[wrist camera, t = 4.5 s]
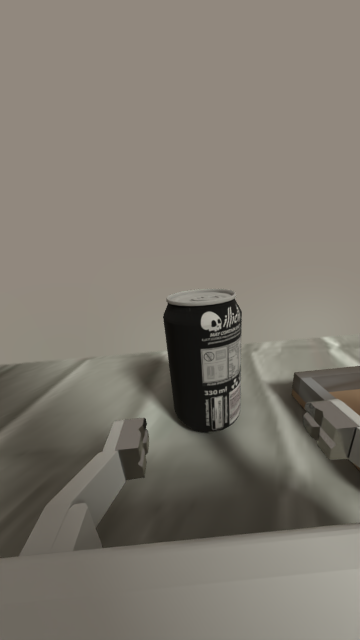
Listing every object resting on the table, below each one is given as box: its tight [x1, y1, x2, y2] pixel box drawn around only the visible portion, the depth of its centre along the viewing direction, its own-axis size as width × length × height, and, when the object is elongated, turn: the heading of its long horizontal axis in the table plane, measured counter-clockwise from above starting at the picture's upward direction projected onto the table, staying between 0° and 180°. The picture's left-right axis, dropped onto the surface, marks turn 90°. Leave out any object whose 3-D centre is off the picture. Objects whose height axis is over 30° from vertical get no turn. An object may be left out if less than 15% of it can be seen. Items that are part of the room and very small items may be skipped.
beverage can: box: [163, 289, 242, 433], centre depth 17 cm, size 7×7×12 cm
